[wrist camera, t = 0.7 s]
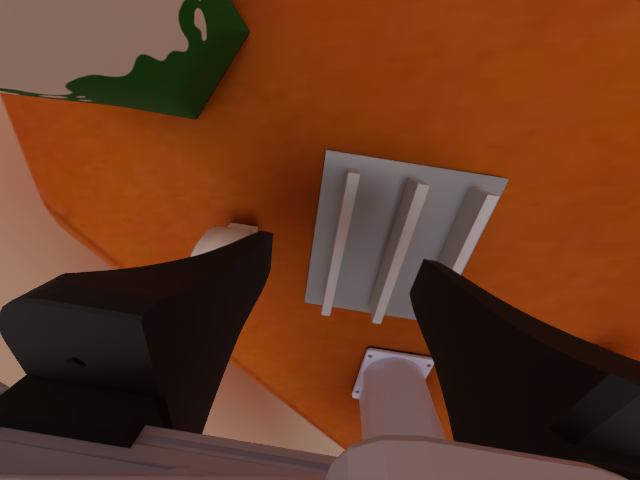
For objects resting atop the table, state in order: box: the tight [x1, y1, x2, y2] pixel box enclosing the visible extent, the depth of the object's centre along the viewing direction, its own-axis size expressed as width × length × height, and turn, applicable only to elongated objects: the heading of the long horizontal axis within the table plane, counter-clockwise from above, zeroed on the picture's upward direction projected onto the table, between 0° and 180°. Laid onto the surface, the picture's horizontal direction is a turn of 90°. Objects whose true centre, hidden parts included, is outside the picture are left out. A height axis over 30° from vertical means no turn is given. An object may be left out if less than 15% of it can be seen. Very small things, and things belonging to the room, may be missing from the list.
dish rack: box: [305, 150, 509, 324], centre depth 20 cm, size 15×14×3 cm
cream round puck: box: [191, 223, 258, 257], centre depth 19 cm, size 8×2×8 cm, turn 172°
